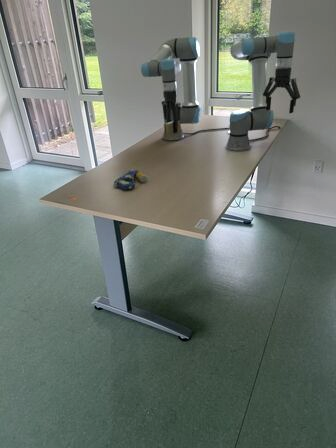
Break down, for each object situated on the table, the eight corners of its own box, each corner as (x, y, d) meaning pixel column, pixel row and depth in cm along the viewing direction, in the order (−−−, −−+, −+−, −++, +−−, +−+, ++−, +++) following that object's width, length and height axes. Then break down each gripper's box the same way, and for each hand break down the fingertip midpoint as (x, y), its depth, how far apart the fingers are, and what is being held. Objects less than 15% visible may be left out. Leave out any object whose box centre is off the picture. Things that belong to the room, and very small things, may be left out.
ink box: (177, 133, 202) (176, 119, 198) (181, 134, 199) (180, 120, 195) (164, 138, 197) (163, 123, 192) (169, 138, 194) (167, 124, 190)
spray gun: (153, 176, 189) (130, 173, 195) (152, 169, 186) (129, 167, 193) (134, 192, 173) (110, 189, 180) (133, 185, 171) (109, 182, 177)
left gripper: (154, 90, 188) (158, 131, 200) (175, 92, 177) (178, 136, 189) (164, 87, 192) (167, 128, 204) (185, 89, 181) (187, 132, 193)
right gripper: (257, 67, 172) (255, 110, 183) (303, 69, 155) (297, 115, 166) (266, 65, 176) (263, 107, 187) (311, 67, 159) (305, 112, 170)
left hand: (172, 132), depth 197 cm, fingers closed on ink box, 4 cm apart
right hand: (279, 111), depth 176 cm, fingers open, 13 cm apart
